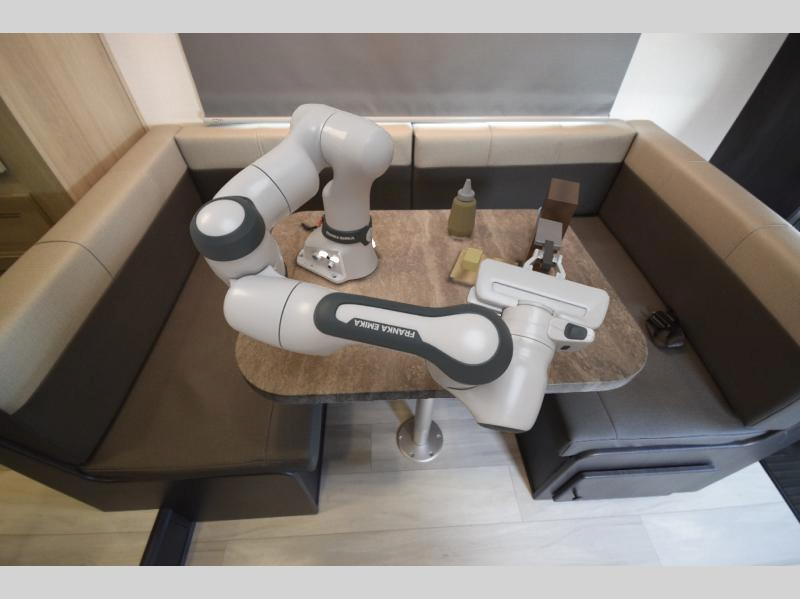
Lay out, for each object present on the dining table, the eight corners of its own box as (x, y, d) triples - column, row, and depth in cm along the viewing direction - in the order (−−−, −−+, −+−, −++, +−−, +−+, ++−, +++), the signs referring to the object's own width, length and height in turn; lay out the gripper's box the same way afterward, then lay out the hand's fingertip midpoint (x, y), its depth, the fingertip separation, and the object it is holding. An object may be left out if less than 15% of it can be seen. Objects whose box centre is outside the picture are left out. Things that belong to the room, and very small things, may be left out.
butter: (461, 268, 95) (463, 259, 93) (466, 255, 99) (468, 247, 97) (475, 272, 94) (477, 263, 92) (480, 259, 98) (482, 250, 96)
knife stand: (511, 288, 92) (542, 199, 73) (518, 261, 100) (548, 174, 81) (542, 297, 90) (582, 207, 71) (547, 269, 98) (584, 181, 79)
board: (448, 280, 93) (449, 276, 92) (461, 252, 102) (462, 248, 101) (509, 297, 90) (510, 293, 88) (517, 267, 98) (518, 262, 97)
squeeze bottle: (471, 244, 105) (483, 188, 92) (444, 240, 106) (452, 185, 93) (473, 229, 110) (484, 174, 98) (447, 225, 111) (455, 171, 99)
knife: (530, 267, 57) (533, 259, 56) (537, 221, 70) (540, 214, 69) (558, 274, 56) (562, 267, 55) (561, 226, 69) (563, 219, 68)
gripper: (462, 314, 60) (484, 246, 64) (587, 354, 55) (603, 278, 59) (464, 301, 54) (489, 227, 58) (605, 344, 49) (621, 261, 54)
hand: (548, 253), depth 59 cm, fingers closed on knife, 1 cm apart
